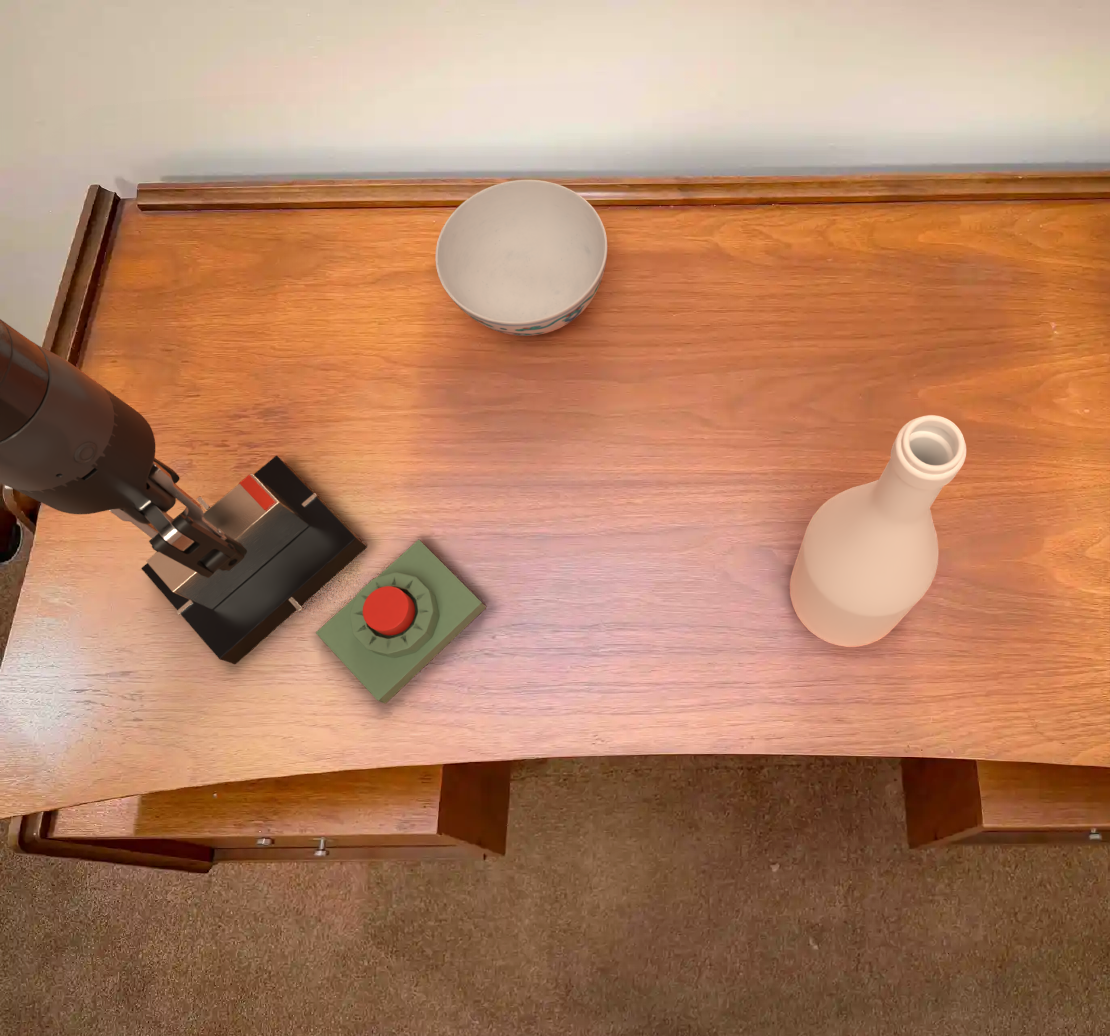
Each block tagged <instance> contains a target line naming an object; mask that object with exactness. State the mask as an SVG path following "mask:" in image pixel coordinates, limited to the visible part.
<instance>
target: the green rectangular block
mask: <svg viewBox="0 0 1110 1036" xmlns="http://www.w3.org/2000/svg"><path fill="white" fill-rule="evenodd" d="M385 586H392V587H396V588H398V589H400V590H401V591H403V592H404V593H405V594H407V595H408V596H409V597H410V598H411V599H412V601H413V603H414V606H415V616H414V619H413V621H412V623H411V625H410V626H409V627H408V628H407V629H406V630H405V631H403V632H401V633H399V634H396V635H384V634H381V633H379V632H377V631H376V630H374V629H373V628H371V627H370V626H369V625H368V624H367V623H366V622H365V620H364V617H363V606H364V603H365V600H366V599H367V597H368V596H369V595H370V594H371V593H372V592H373V591H375V590H376V589H378V588H381V587H385ZM486 609H487V606H486V605H485V604H484V603H483V602H482V601H481V600H480V599H479V598H478V597H477V596H476V595H475V594H474V593H473V592H472V591H471V590H470V589H469V588H468V587H467V586H466V585H465V584H464V583H463V582H462V581H461V580H460V578H458V577H457V576H456V575H455V574H454V573H453V572H452V571H451V570H450V569H449V568H448V567H447V566H446V565H445V564H444V563H443V562H442V561H441V560H440V559H439V558H438V557H437V556H436V554H434V552H432V551H431V550H430V548H428V547H427V546H426V545H425V544H424V543H423V541H421V540H420V539H417V540H416V541H415V542H414V543H413V544H412V545H411V546H410V547H409V548H407V549H406V550H405V551H404V552H403V553H402V554H401V555H400V556H399V557H397V558H396V559H395V560H394V561H393V562H392V563H391V564H390V565H388V566H387V567H386V568H385V569H384V570H383V571H382V572H381V573H380V574H379V575H378V576H377V577H376V576H375V577H374V578H372V579H371V580H370V581H369V582H367V584H366V585H365V586H363V587H362V588H361V589H360V590H359V591H358V592H357V593H356V595H355V596H354V597H353V598H352V599H351V600H350V601H348V603H347V604H345V605H344V606H343V607H342V608H340V610H339V611H338V612H337V613H335V614H334V615H333V616H332V617H331V618H330V619H329V620H328V621H327V622H326V623H324V624H323V625H322V626H321V627H320V628H319V629H318V630H317V631H315V634H316V635H317V636H318V637H319V638H320V640H322V642H323V643H324V644H325V645H326V646H327V647H328V649H330V650H331V651H332V653H333V654H334V655H335V656H336V658H338V659H339V660H340V661H341V663H342V664H343V665H344V666H345V667H346V668H347V669H348V670H349V671H350V672H351V673H352V675H353V676H354V677H355V678H356V679H357V680H358V681H359V682H360V684H361V685H363V687H365V689H366V691H368V692H369V693H370V694H371V695H372V697H374V699H375V700H376V701H377V702H380V703H381V704H385V705H386V704H387V703H388V702H389V701H391V699H392V698H394V696H395V695H397V694H398V692H399V691H401V689H402V688H404V687H405V686H406V685H407V684H408V683H409V682H410V681H411V680H412V679H413V678H415V676H416V675H418V674H419V672H421V671H422V670H423V669H424V668H425V667H426V666H427V665H428V664H429V663H430V662H431V661H432V660H433V659H434V658H436V656H437V655H438V654H440V653H441V652H442V651H443V650H444V649H445V648H446V647H447V646H448V645H449V644H451V642H452V641H453V640H454V639H455V638H456V637H457V636H459V634H460V633H462V632H463V631H464V630H465V629H466V628H467V627H468V626H469V625H470V624H471V623H472V622H473V621H474V620H475V619H476V618H477V617H478V616H479V615H481V613H483V612H484V611H485V610H486Z"/></svg>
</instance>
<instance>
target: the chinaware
mask: <svg viewBox="0 0 1110 1036" xmlns="http://www.w3.org/2000/svg"><path fill="white" fill-rule="evenodd" d="M607 260H608V236H607V233H606V229H605V226H604V223H603V221H602V219H601V216H600V215H599V213H598V212H597V211H596V209H595V208H594V206H592V204H590V202H589V201H587V200H586V199H585V198H584V197H583V196H581V195H580V194H579V193H577V192H576V191H574V190H572V189H570V188H568V187H566V186H564V185H562V184H558V183H555V182H551V181H546V180H542V179H541V180H539V179H517V180H510V181H509V180H508V181H504V182H501V183H497V184H494V185H491V186H489V187H486V188H484V189H481V190H480V191H478V192H476V193H475V194H473V195H471V196H470V197H468V198H467V199H466V200H464V201H463V202H462V203H461V204H460V205H459V206H457V208H456V209H455V210H454V211H453V212H452V213H451V215H450V216H449V217H448V218H447V220H446V221H445V223H444V225H443V226H442V228H441V230H440V232H439V235H438V238H437V242H436V247H435V269H436V272H437V276H438V279H439V281H440V284H441V286H442V287H443V289H444V291H445V292H446V294H447V295H448V296H449V298H450V299H451V300H452V302H454V304H455V305H456V306H457V307H458V308H459V309H460V310H462V311H463V313H465V314H466V315H467V316H468V317H470V318H471V319H472V320H474V321H475V322H477V323H479V324H481V326H484V327H486V328H488V329H490V330H492V331H495V332H499V333H502V334H506V335H511V336H516V337H517V336H519V337H532V336H540V335H544V334H549V333H552V332H555V331H557V330H559V329H561V328H563V327H566V326H567V325H568V324H570V323H571V322H573V321H574V320H575V319H577V318H578V317H579V316H580V315H581V314H582V313H583V312H584V311H585V310H586V309H587V308H588V306H589V305H590V304H591V302H592V301H593V299H594V297H595V296H596V294H597V292H598V290H599V288H600V286H601V283H602V282H603V281H602V280H603V278H604V274H605V271H606V267H607Z"/></svg>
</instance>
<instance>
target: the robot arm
mask: <svg viewBox="0 0 1110 1036" xmlns="http://www.w3.org/2000/svg"><path fill="white" fill-rule="evenodd" d="M156 448H157V447H156V439H155V434H154V431H153V429H152V427H151V425H150V423H149V421H147V419H146V418H145V417H144V416H143V415H142V414H141V413H140V412H139V411H137V410H136V409H135V408H133V407H132V406H131V405H129V404H128V403H126V402H125V401H123V399H120V398H119V397H118V396H117V395H115V394H114V393H112V392H111V391H109V390H108V389H107V388H105V387H104V386H103V385H101V384H100V383H98V382H97V381H96V380H95V379H94V378H92V377H90V376H89V375H87V374H86V372H83V371H82V370H81V369H79V368H78V367H77V366H75V365H74V364H72V363H71V362H69V361H68V360H66V359H65V358H64V357H62V356H60V355H58V354H56V353H54V352H52V351H50V350H49V349H46V348H44V347H42V346H41V345H39V344H37V343H35V342H34V341H32V340H30V339H29V338H27V336H25V335H23V333H20V332H19V331H18V330H16V329H15V328H14V327H12V326H11V325H9V324H8V323H7V322H5V321H4V320H2V319H1V318H0V484H2V485H3V486H6V487H9V488H10V489H13V490H14V491H17V492H18V493H21V494H23V495H25V496H27V497H29V498H31V499H33V500H35V501H37V502H39V503H41V504H44V505H46V506H47V507H49V508H52V509H54V510H56V511H58V512H62V513H65V514H69V515H70V514H71V515H91V514H96V513H102V512H107V511H109V512H110V513H111V514H113V515H114V516H116V517H117V518H118V519H120V520H121V521H123V522H128V523H129V522H130V524H132V525H134V526H135V527H136V528H137V529H139V530H140V531H142V532H143V533H145V535H147V536H148V537H149V538H151V539H149V540H148V543H149V544H150V545H151V548H152V549H153V551H155V552H160V553H162V554H164V555H165V556H167V557H169V558H171V559H173V560H175V561H177V562H179V563H180V564H182V565H184V566H186V567H188V568H190V569H192V570H194V571H196V572H197V573H199V574H200V575H202V576H205V577H207V578H209V577H210V576H211V575H213V574H214V572H215V571H216V570H218V569H220V570H222V571H225V570H227V571H230V570H231V569H232V568H233V567H234V566H235V565H237V564H238V563H239V562H240V561H241V560H242V559H244V558H245V557H244V556H245V555H246V553H247V550H246V549H245V548H244V547H243V545H242V544H241V543H239V542H237V541H236V540H234V539H232V538H231V537H229V536H227V535H226V534H224V532H223V531H222V530H220V529H217V528H216V527H214V526H213V525H212V524H211V523H210V522H208V521H207V520H206V519H205V518H204V517H203V515H204V510H203V508H202V505H201V504H200V503H199V502H198V501H197V500H195V499H194V497H192V496H191V495H190V494H188V493H187V491H185V490H183V489H182V488H181V487H180V486H179V485H177V483H178V482H179V481H180V479H181V477H180V475H179V474H178V473H177V472H176V471H175V470H174V469H173V468H172V467H170V466H168V465H167V464H165V463H164V462H162V461H161V460H159V459H157V458H156ZM177 501H178V502H180V503H181V504H182V505H183V506H184V507H185V508H184V510H183V511H181V512H180V513H179V514H178V515H177V516H176V517H174V518H173V517H172V516H170V514H168V513H167V512H169V511H170V510H171V509H173V507H175V505H176V503H177Z"/></svg>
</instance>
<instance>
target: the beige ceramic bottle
mask: <svg viewBox="0 0 1110 1036" xmlns="http://www.w3.org/2000/svg"><path fill="white" fill-rule="evenodd" d="M966 457H967V444H966V441H965V437H964V435H963V432H962V431H961V429H960V428H959V427H958V426H957V425H956V424H955V423H954V422H953V421H951V420H950V419H949V418H946V417H944V416H940V415H937V414H936V415H934V414H927V415H923V416H919V417H916V418H912V419H911V420H909V421H908V422H906V423H905V424H904V425H903V426H902V427H901V428H900V430H899V431H898V433H897V435H896V437H895V439H894V441H893V443H892V446H891V449H890V458H889V460H888V462H887V464H886V466H885V467H884V469H883V470H882V473H881V474H880V476H879V478H878V479H876V480H874V481H870V482H867V483H863V484H860V485H857V486H853V487H850V488H848V489H845V490H843V491H841V492H839V493H837V494H836V495H834V496H832V497H831V498H828V499H827V500H826V501H825V502H824V503H823V504H822V505H820V506H819V508H818V509H817V511H816V512H815V513H814V514H813V515H812V516H811V519H810V521H809V522H808V524H807V526H806V529H805V532H804V535H803V538H802V541H801V544H800V547H799V551H798V553H797V557H796V559H795V562H794V566H793V568H792V571H791V575H790V580H789V597H790V601H791V605H792V607H793V609H794V612H795V614H796V616H797V618H798V619H799V621H800V622H801V623H802V625H803V626H804V627H805V628H806V629H807V630H808V631H809V632H810V633H811V634H813V635H814V636H815V637H817V638H818V639H820V640H821V641H825V642H826V643H829V644H831V645H835V646H838V647H847V648H857V647H862V646H867V645H871V644H873V643H875V642H878V641H879V640H881V639H883V638H884V637H886V636H887V635H888V634H889V633H890V632H891V631H893V629H894V628H895V627H896V626H897V625H898V624H899V623H900V622H901V621H902V620H903V618H905V616H907V614H908V613H909V612H910V611H911V610H912V609H913V608H914V607H915V606H916V605H917V604H918V602H919V601H920V600H921V599H922V598H923V597H924V596H925V595H926V593H927V592H928V590H929V589H930V588H931V585H932V583H933V581H934V579H935V577H936V574H937V569H938V567H939V566H938V565H939V554H940V553H939V552H940V550H939V541H938V534H937V531H936V527H935V524H934V521H933V515H932V510H931V507H932V505H933V504H934V502H935V500H936V499H937V498H938V496H939V494H940V492H941V491H942V490H943V488H944V487H945V486H947V485H948V484H949V483H951V482H952V481H953V480H954V478H955V477H956V476H957V474H959V471H960V470H961V469H962V467H963V465H964V463H965V461H966Z"/></svg>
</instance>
